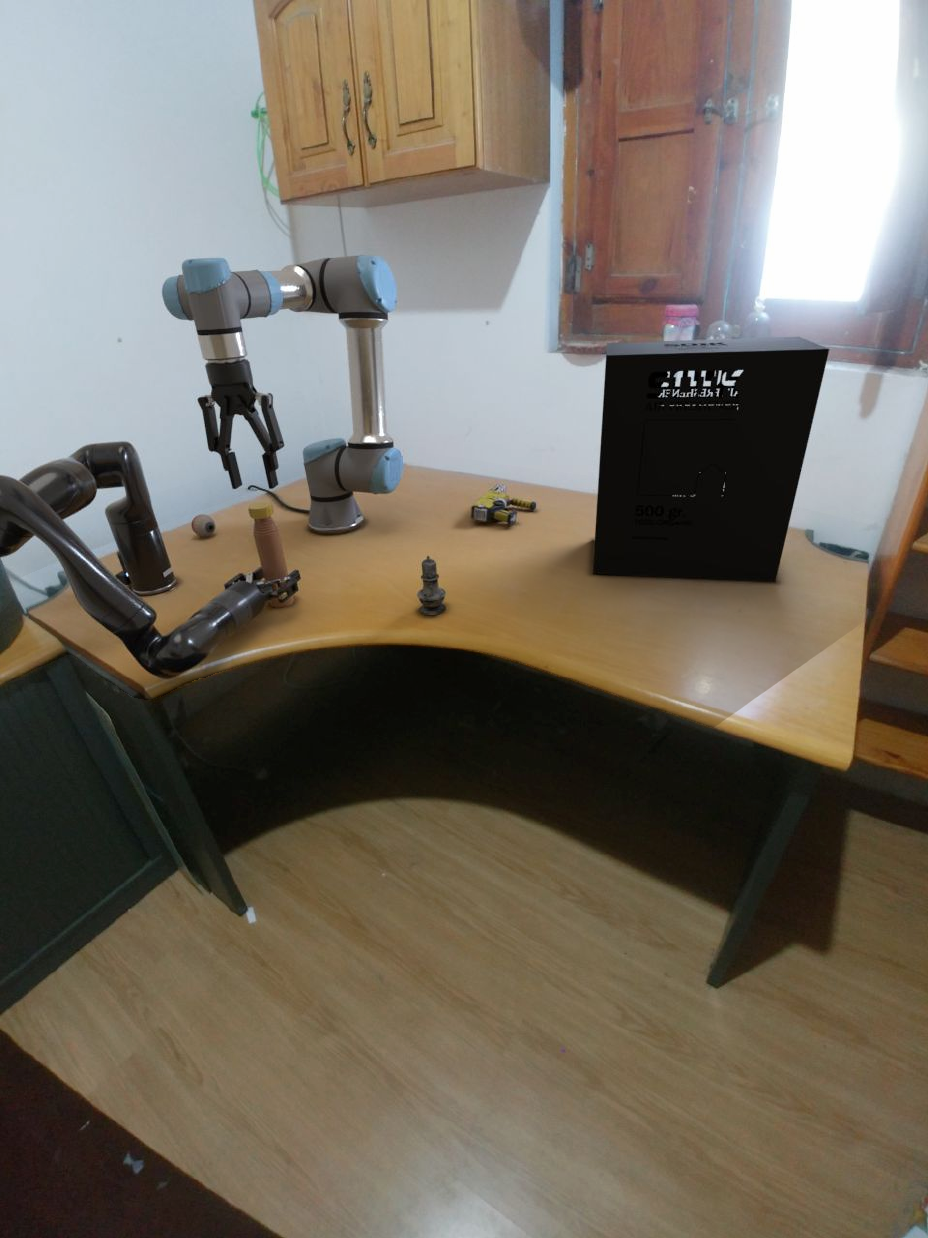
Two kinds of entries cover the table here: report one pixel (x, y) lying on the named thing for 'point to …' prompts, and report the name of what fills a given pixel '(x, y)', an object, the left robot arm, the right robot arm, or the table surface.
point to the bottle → (271, 554)
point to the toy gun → (498, 506)
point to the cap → (260, 510)
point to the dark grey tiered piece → (431, 589)
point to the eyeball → (203, 525)
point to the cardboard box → (703, 455)
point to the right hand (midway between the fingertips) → (255, 486)
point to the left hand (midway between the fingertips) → (281, 572)
